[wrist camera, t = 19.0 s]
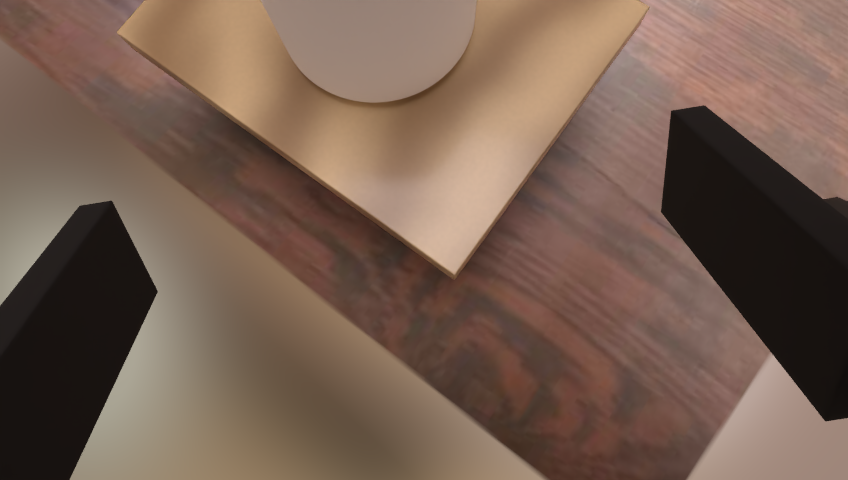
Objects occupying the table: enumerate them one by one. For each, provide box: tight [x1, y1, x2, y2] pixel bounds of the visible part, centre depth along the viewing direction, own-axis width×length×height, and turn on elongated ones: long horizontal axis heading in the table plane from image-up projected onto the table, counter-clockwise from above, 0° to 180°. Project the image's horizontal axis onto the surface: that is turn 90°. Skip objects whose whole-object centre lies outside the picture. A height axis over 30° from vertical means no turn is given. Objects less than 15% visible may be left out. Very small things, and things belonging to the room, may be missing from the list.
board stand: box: [117, 0, 649, 279], centre depth 30 cm, size 18×14×10 cm
